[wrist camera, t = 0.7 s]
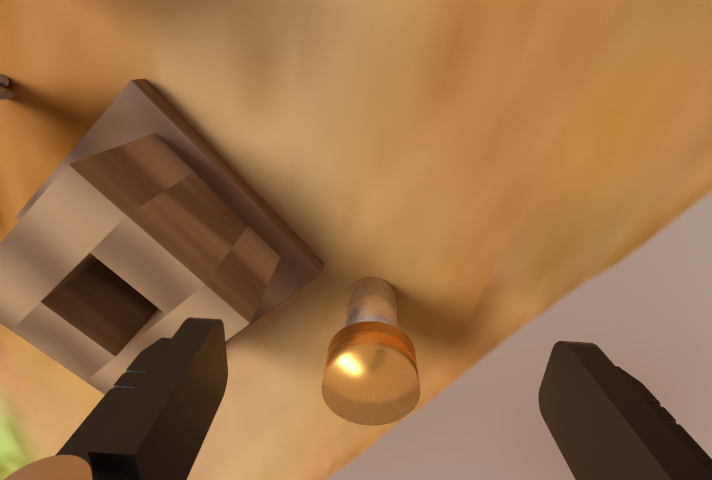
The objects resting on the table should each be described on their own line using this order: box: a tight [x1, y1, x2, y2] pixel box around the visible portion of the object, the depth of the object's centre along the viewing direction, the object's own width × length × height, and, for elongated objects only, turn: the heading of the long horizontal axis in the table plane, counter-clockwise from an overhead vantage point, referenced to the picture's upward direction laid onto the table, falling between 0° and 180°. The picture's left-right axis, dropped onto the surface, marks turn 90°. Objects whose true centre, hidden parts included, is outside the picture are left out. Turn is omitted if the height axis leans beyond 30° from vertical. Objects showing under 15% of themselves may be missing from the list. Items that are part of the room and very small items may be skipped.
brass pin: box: [322, 277, 420, 425], centre depth 28 cm, size 6×6×10 cm
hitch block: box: [0, 79, 324, 395], centre depth 26 cm, size 15×18×10 cm
